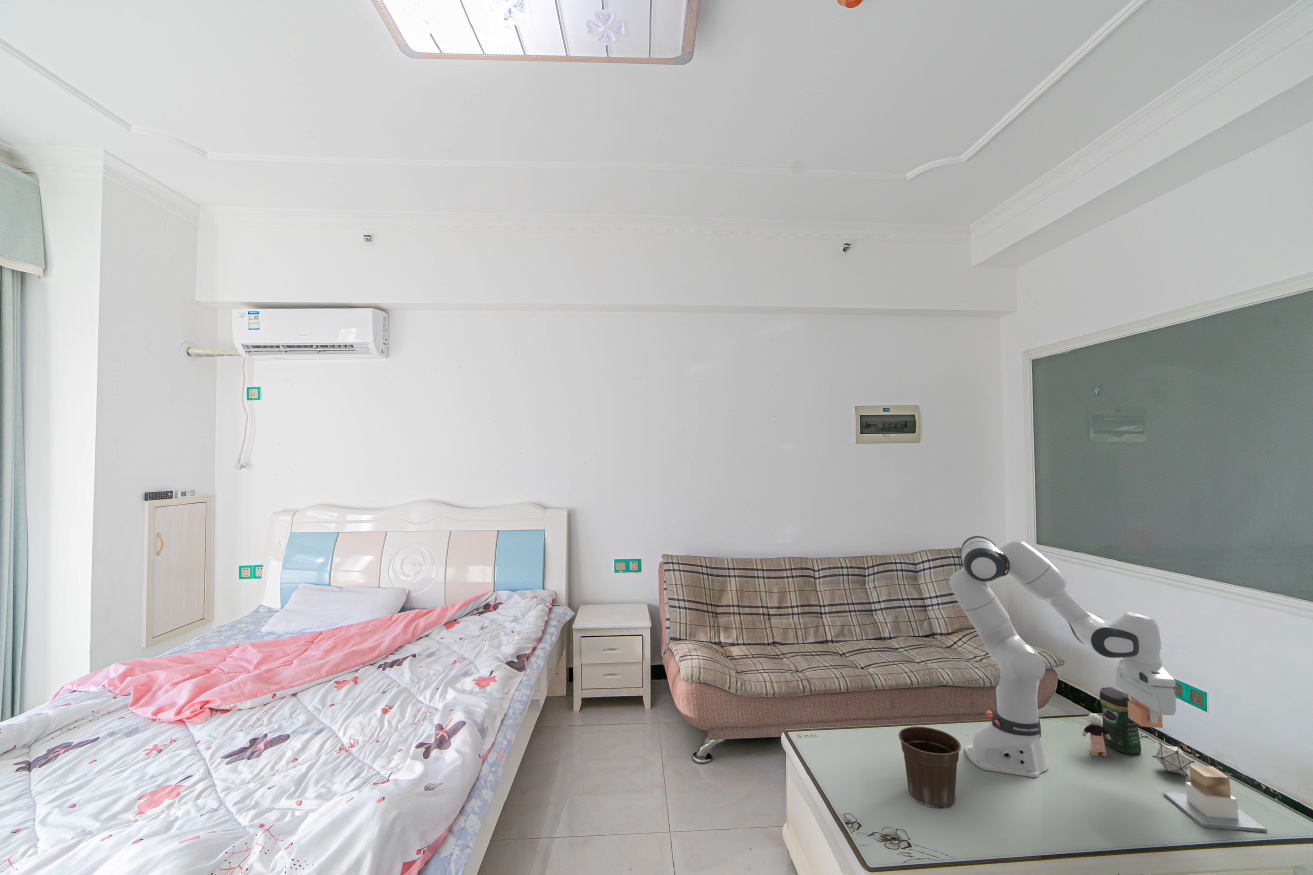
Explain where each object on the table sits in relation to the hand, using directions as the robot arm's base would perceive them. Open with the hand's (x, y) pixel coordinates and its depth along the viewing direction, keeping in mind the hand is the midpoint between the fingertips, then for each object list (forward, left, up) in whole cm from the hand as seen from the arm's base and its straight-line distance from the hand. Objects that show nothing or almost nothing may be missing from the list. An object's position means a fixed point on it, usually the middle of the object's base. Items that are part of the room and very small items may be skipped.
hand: (1144, 716), depth 162 cm
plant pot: (-64, -14, -20) cm, 68 cm away
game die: (+11, +8, -20) cm, 24 cm away
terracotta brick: (0, 0, -2) cm, 2 cm away
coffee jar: (+5, +22, -20) cm, 30 cm away
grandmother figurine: (-5, +17, -20) cm, 26 cm away
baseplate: (+7, -12, -20) cm, 24 cm away
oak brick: (+7, -12, -14) cm, 20 cm away
